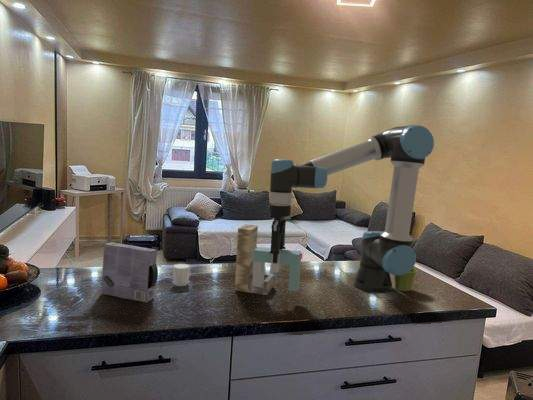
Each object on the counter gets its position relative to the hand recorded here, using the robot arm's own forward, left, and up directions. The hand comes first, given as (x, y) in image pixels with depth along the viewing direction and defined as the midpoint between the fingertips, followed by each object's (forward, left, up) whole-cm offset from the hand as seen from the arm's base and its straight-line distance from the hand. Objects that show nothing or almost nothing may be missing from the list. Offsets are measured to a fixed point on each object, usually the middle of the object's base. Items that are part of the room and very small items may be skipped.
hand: (276, 269), depth 137 cm
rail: (0, 0, -6) cm, 6 cm away
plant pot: (-47, -32, -11) cm, 58 cm away
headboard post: (+10, -8, -11) cm, 17 cm away
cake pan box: (+47, +17, -11) cm, 52 cm away
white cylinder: (+37, -2, -11) cm, 39 cm away
